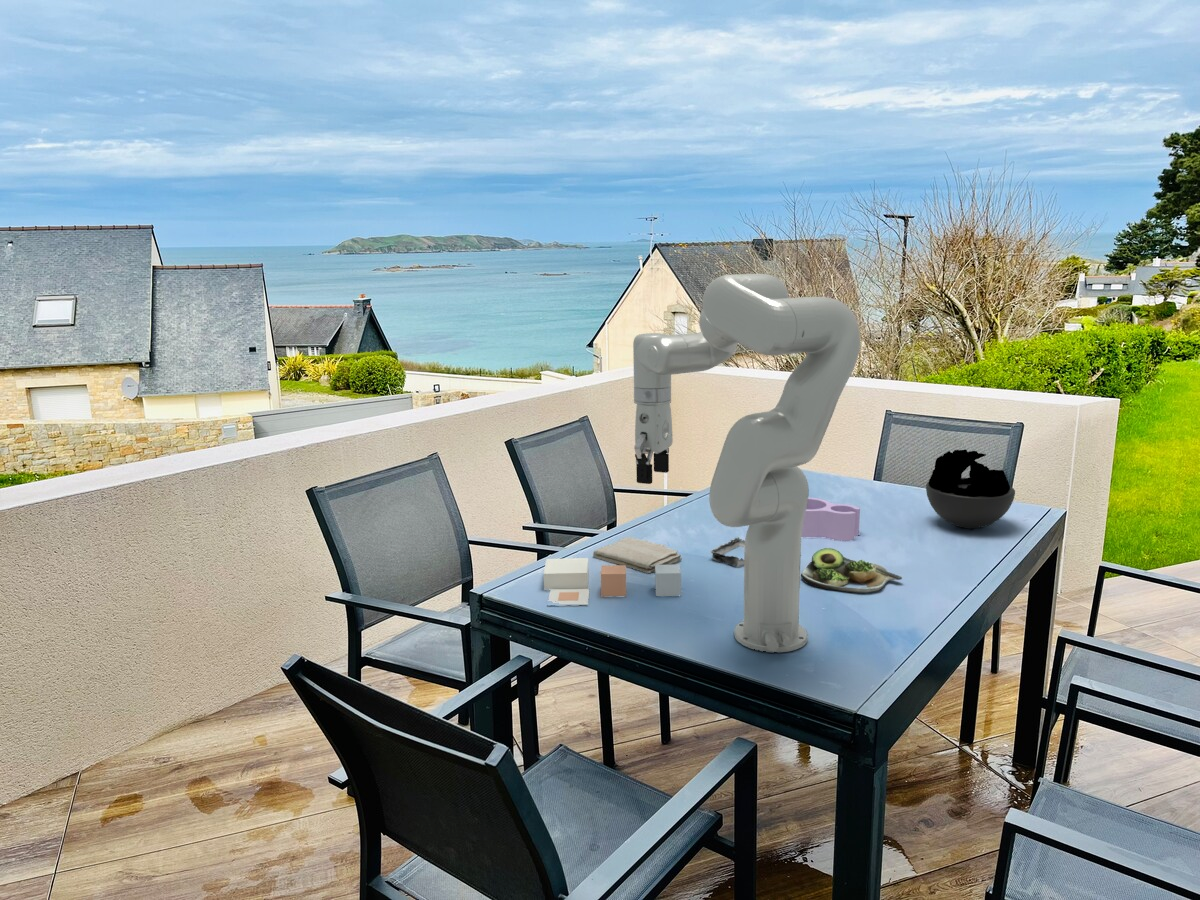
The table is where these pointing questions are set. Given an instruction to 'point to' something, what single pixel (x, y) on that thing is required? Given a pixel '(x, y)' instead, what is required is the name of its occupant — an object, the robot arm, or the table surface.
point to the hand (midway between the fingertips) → (653, 477)
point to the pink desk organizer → (830, 520)
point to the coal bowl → (968, 490)
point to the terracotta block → (613, 580)
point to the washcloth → (637, 554)
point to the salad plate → (844, 573)
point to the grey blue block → (668, 580)
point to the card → (569, 596)
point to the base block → (566, 573)
